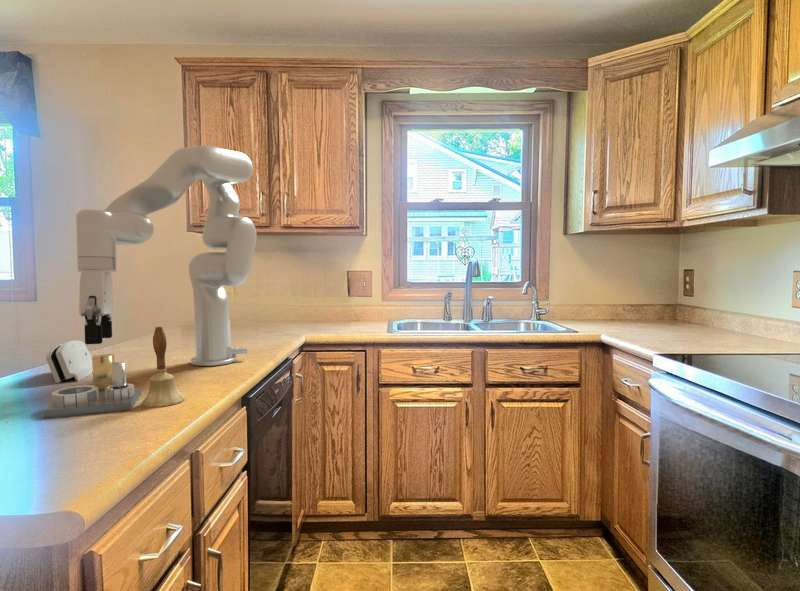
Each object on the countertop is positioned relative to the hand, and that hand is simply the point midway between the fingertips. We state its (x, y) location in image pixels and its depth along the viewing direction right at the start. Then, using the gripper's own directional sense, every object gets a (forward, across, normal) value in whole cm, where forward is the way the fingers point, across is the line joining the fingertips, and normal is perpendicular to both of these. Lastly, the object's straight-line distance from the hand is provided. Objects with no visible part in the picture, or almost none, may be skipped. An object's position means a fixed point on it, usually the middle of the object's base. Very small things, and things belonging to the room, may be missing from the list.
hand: (99, 340), depth 114 cm
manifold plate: (+12, +12, +2) cm, 17 cm away
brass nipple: (+12, -1, +1) cm, 12 cm away
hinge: (+12, -21, -10) cm, 26 cm away
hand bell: (+12, +14, +15) cm, 23 cm away
